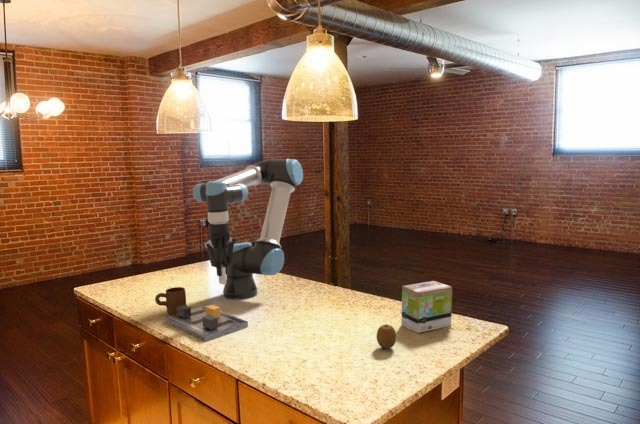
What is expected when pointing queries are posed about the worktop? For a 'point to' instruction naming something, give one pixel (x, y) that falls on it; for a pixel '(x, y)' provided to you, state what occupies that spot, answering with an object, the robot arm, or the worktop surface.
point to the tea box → (426, 306)
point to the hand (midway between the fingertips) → (222, 283)
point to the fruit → (386, 336)
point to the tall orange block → (213, 311)
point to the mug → (172, 299)
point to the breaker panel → (200, 325)
